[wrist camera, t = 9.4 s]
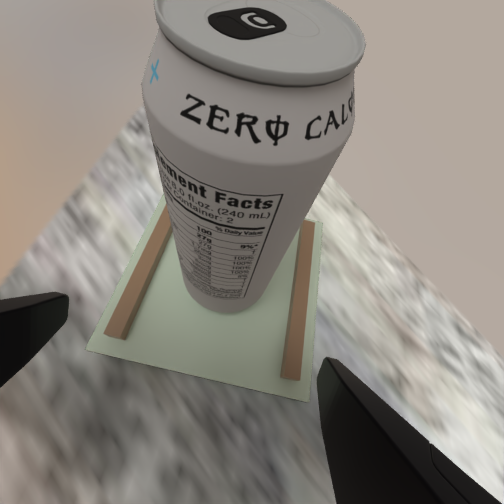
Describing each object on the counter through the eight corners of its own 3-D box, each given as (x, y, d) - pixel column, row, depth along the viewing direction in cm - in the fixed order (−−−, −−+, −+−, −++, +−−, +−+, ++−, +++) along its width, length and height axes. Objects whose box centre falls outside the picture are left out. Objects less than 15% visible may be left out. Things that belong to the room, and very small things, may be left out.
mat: (306, 402, 16) (315, 403, 15) (88, 350, 16) (76, 347, 14) (320, 226, 23) (327, 216, 22) (169, 188, 23) (166, 175, 21)
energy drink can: (282, 281, 19) (435, 50, 6) (220, 335, 17) (259, 134, 4) (230, 228, 21) (267, -43, 8) (167, 270, 18) (65, -29, 5)
